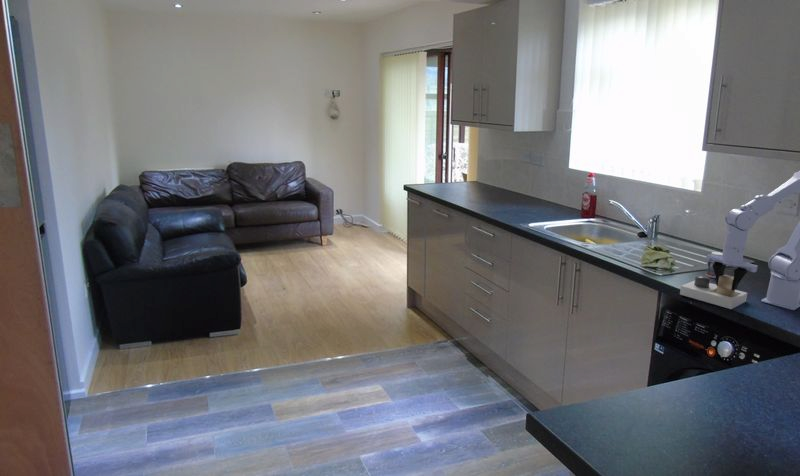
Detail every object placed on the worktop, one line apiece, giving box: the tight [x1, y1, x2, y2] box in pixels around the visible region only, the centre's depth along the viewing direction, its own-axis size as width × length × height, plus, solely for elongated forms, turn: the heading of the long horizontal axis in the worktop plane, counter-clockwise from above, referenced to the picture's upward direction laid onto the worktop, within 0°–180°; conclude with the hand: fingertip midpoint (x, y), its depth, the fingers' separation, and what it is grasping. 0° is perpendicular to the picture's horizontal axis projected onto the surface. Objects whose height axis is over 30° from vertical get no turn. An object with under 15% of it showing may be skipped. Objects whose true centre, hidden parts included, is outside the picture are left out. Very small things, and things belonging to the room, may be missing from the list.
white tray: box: [679, 274, 748, 310], centre depth 186 cm, size 16×12×6 cm
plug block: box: [716, 274, 735, 297], centre depth 183 cm, size 4×4×6 cm
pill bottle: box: [705, 251, 723, 279], centre depth 210 cm, size 5×5×9 cm
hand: (726, 287), depth 183 cm, fingers closed on plug block, 4 cm apart
